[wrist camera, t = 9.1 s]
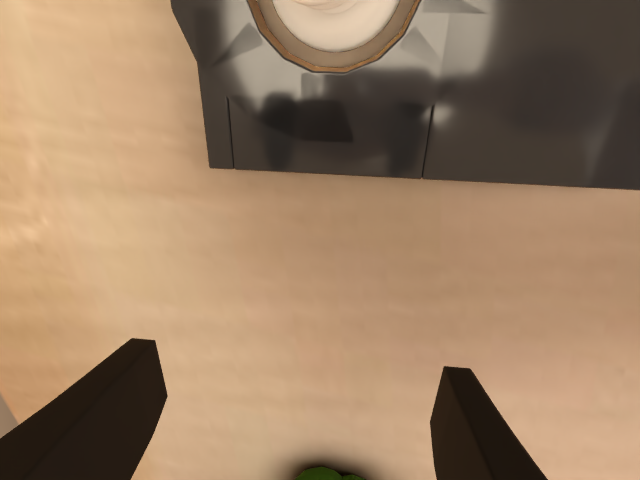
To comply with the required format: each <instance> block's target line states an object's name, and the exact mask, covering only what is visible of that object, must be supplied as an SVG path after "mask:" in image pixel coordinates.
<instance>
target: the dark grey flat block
mask: <svg viewBox="0 0 640 480" xmlns="http://www.w3.org/2000/svg"><path fill="white" fill-rule="evenodd" d="M171 7H172V9H173V10H172V11H173V13H174V15H175V17H176V20H177V22H178V24H179V26H180V28H181V30H182V32H183V34H184V36H185V38H186V40H187V42H188V44H189V46H190V49H191V51H192V53H193V55H194V57H195V59H196V61H197V65H198V74H199V82H200V91H201V99H202V108H203V116H204V125H205V133H206V142H207V150H208V159H209V167H210V168H215V169H236V170H255V171H274V172H294V173H313V174H333V175H352V176H372V177H391V178H411V179H421V178H422V179H430V180H449V181H469V182H488V183H508V184H527V185H547V186H566V187H585V188H605V189H624V190H640V0H415V2H414V4H413V6H412V9H411V11H410V13H409V15H408V17H407V19H406V21H405V23H404V25H403V27H402V29H401V31H400V33H399V34H398V35H397V36H396V37H395V38H394V39H393V40H392V41H391V42H390V43H389V44H388V45H386V46H385V47H384V48H383V49H382V50H381V51H380V52H379V53H378V54H377V55H376V56H374V57H372V58H369V59H367V60H364V61H362V62H359V63H357V64H354V65H352V66H350V67H347V68H342V67H316V66H314V65H312V64H310V63H308V62H306V61H304V60H302V59H300V58H298V57H296V56H294V55H292V54H290V53H289V52H288V51H287V50H286V49H285V48H284V47H283V46H282V44H281V43H280V42H279V41H278V40H277V39H276V38H275V37H274V35H273V34H272V33H271V32H270V31H269V30H268V28H267V26H266V23H265V21H264V18H263V16H262V13H261V11H260V8H259V6H258V3H257V1H256V0H171Z"/></svg>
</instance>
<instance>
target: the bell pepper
mask: <svg viewBox="0 0 640 480" xmlns="http://www.w3.org/2000/svg"><path fill="white" fill-rule="evenodd" d="M295 480H366V479H363V478H360V477H358V476H355V475H347V476H341V475H340V474H338V473H337V472H336V471H334V470H332V469H329V468H325V467H317V468H311V469H306V470H304V471H303V472H302V473H301V474H300V475H299V476H298V477H296V478H295Z"/></svg>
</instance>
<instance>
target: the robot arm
mask: <svg viewBox="0 0 640 480" xmlns="http://www.w3.org/2000/svg"><path fill="white" fill-rule="evenodd" d="M167 396H168V395H167V391H166V387H165V382H164V378H163V373H162V369H161V364H160V360H159V355H158V351H157V347H156V342H155V340H146V339H135V338H132V339H130V340H129V341H128V342H126V343H125V344H124V345H123V346H121V347H120V348H119V349H117V350H116V351H115V352H114V353H112V354H111V355H110V356H109V357H107V358H106V359H105V360H104V361H102V362H101V363H100V364H99V365H97V366H96V367H95V368H94V369H92V370H91V371H90V372H89V373H87V374H86V375H85V376H84V377H82V378H81V379H80V380H78V381H77V382H76V383H75V384H73V385H72V386H71V387H69V388H68V389H67V390H66V391H64V392H63V393H62V394H60V395H59V396H58V397H57V398H55V399H54V400H53V401H51V402H50V403H49V404H47V405H46V406H45V407H43V408H42V409H41V410H39V411H38V412H36V413H35V414H34V415H32V416H31V417H29V418H28V419H27V420H25V421H24V422H23V423H21V424H20V425H18V426H17V427H16V428H14V429H13V430H11V431H10V432H9V433H7V434H6V435H5V436H3V437H2V438H1V439H0V480H130V479H131V478H132V476H133V474H134V472H135V470H136V468H137V466H138V464H139V462H140V460H141V458H142V456H143V454H144V452H145V450H146V448H147V446H148V444H149V442H150V440H151V438H152V436H153V434H154V431H155V429H156V426H157V423H158V421H159V418H160V416H161V413H162V410H163V407H164V404H165V402H166V399H167ZM430 427H431V438H432V449H433V458H434V467H435V472H436V477H437V480H548V479H547V478H546V477H545V475H544V474H543V473H542V471H541V470H540V469H539V467H538V466H537V465H536V464H535V462H534V461H533V459H532V458H531V457H530V455H529V454H528V453H527V451H526V450H525V448H524V447H523V446H522V444H521V443H520V441H519V440H518V439H517V437H516V436H515V435H514V433H513V432H512V430H511V429H510V427H509V426H508V425H507V423H506V422H505V420H504V419H503V417H502V416H501V414H500V413H499V411H498V410H497V408H496V407H495V405H494V404H493V402H492V401H491V399H490V398H489V396H488V395H487V393H486V392H485V390H484V389H483V387H482V385H481V384H480V382H479V381H478V379H477V378H476V376H475V374H474V373H473V372H472V371H471V369H469V368H458V367H447V366H444V368H443V372H442V376H441V380H440V384H439V388H438V392H437V396H436V400H435V404H434V408H433V412H432V416H431V420H430Z"/></svg>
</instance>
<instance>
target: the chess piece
mask: <svg viewBox="0 0 640 480" xmlns="http://www.w3.org/2000/svg"><path fill="white" fill-rule="evenodd" d="M399 1H400V0H272V2H273V5H274V7H275V10H276V12H277V14H278V16H279V17H280V19H281V21H282V22H283V24H284V25H285V26H286V27H287V29H288V30H289V31H290V32H291V33H292V34H293V35H294V36H295V37H296V38H297V39H299V40H300V41H301V42H303V43H304V44H306V45H308V46H310V47H312V48H315V49H317V50H321V51H326V52H344V51H349V50H353V49H355V48H358V47H360V46H362V45H364V44H366V43H367V42H369V41H370V40H372V39H373V38H374V37H376V36H377V35H378V34H379V33H380V32H381V31H382V30H383V29H384V27H385V26H386V25H387V24H388V22H389V21H390V19H391V18H392V16H393V14H394V12H395V10H396V8H397V6H398V3H399Z"/></svg>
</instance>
